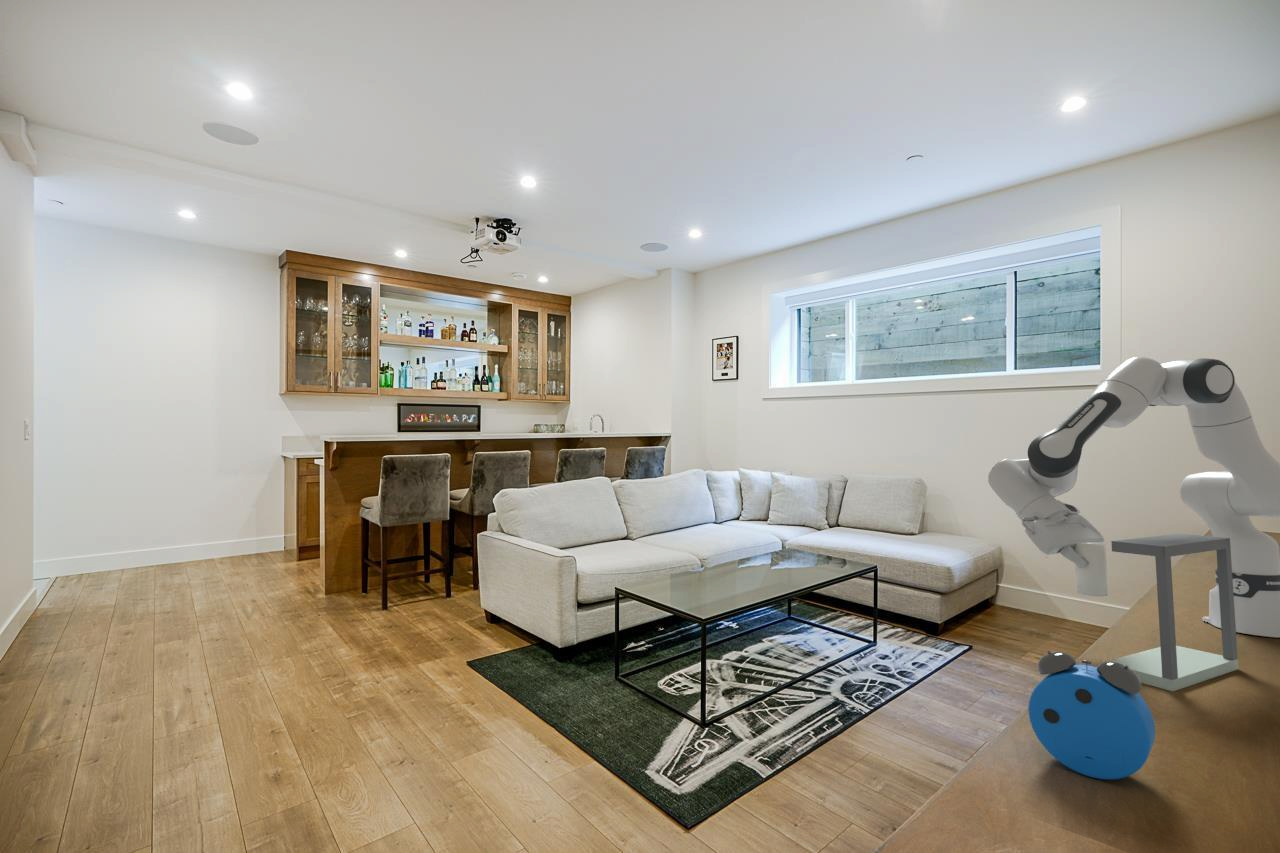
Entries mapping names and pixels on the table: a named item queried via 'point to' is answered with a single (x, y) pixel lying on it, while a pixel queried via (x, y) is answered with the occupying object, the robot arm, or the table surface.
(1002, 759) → the table surface
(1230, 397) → the robot arm
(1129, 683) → the alarm clock
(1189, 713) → the table surface
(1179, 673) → the grey frame
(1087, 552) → the white cylinder
